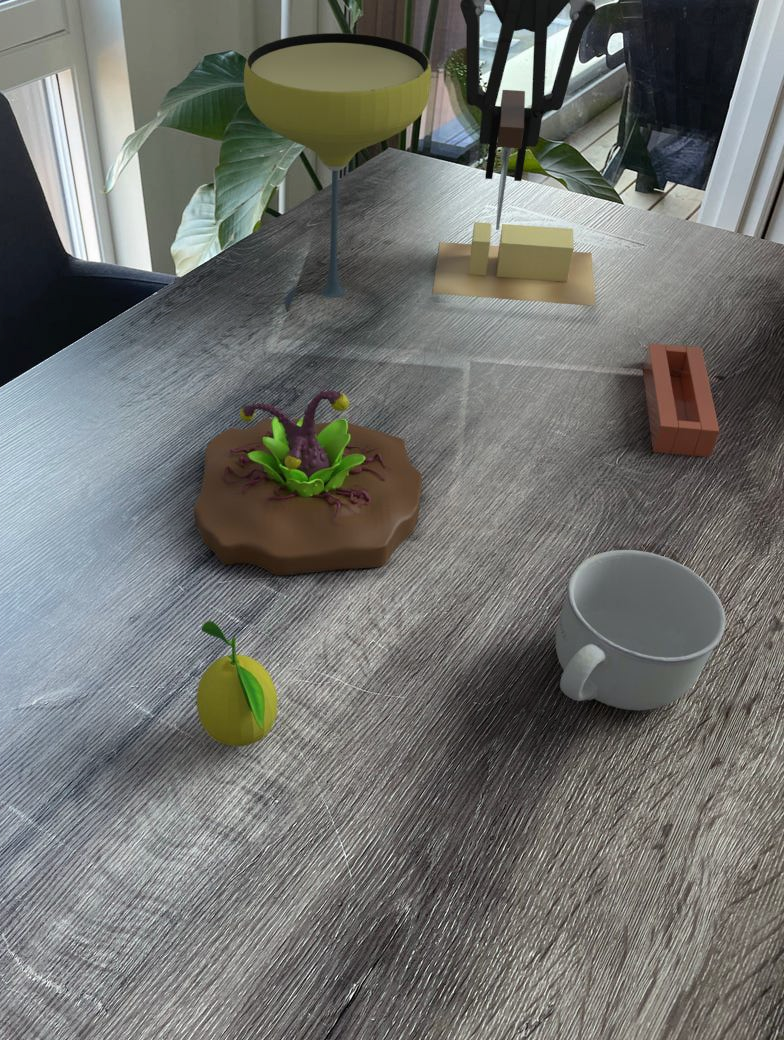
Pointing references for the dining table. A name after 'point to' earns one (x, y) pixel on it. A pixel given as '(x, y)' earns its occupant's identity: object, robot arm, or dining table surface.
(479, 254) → the butter slice
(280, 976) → the dining table surface
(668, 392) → the knife stand
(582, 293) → the board
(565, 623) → the teacup
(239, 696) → the lemon
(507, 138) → the knife
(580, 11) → the robot arm
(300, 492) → the plant
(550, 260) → the butter
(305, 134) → the cocktail glass
